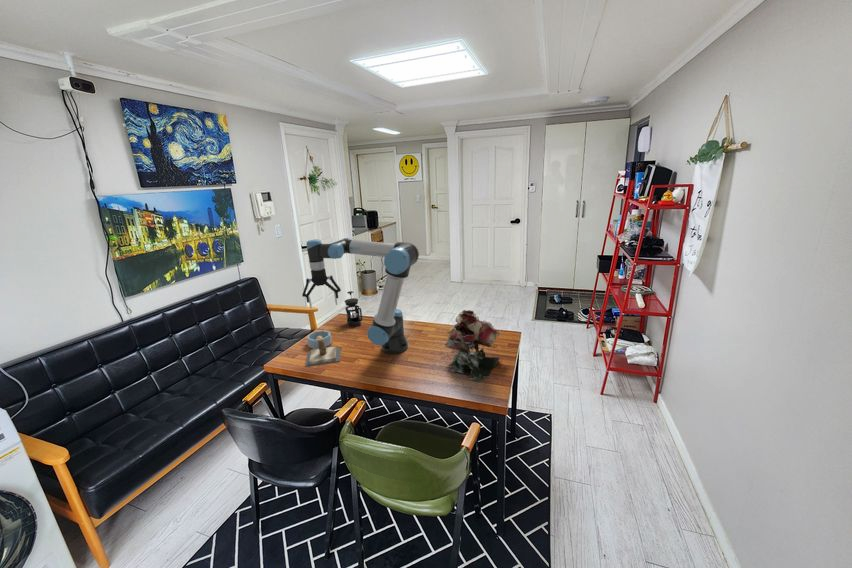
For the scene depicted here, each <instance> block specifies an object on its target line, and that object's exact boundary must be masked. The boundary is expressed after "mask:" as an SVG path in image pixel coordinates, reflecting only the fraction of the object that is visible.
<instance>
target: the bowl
mask: <svg viewBox="0 0 852 568" xmlns="http://www.w3.org/2000/svg"><path fill="white" fill-rule="evenodd" d="M321 339H324V340H325V346H326V348H328V347H329V346H330V345H331V344H332V334H331V331H329V330H326V329H324V330H315V331H313V332H311V333H309V334H307V338H306V340H307V345H308V348H310V349H312V350H313V349H319V346H318V340H321Z"/></svg>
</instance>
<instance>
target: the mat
mask: <svg viewBox="0 0 852 568" xmlns="http://www.w3.org/2000/svg"><path fill="white" fill-rule="evenodd" d="M310 354H311V351H308V352H307V356H306V361H305V367H306V368H307V367H313V366H319V365H327V364H333V363H339V362H340V361H341V347H337V353H336V360H335V361H328V362H322V363H315V364H309V359H310Z"/></svg>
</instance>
